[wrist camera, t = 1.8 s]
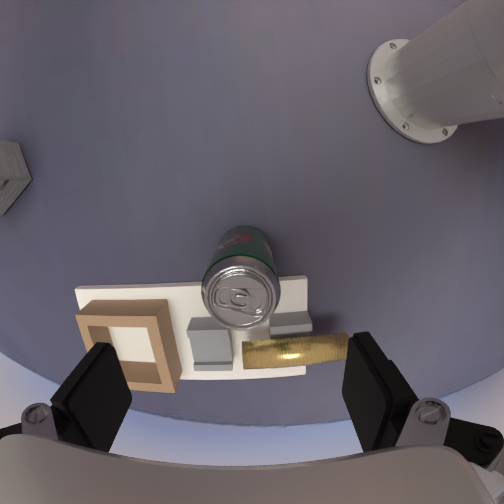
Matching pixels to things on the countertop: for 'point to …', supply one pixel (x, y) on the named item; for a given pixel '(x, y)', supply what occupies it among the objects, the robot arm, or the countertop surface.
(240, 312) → the soda can
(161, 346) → the dock
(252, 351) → the pin
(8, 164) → the skincare box
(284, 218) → the countertop surface
